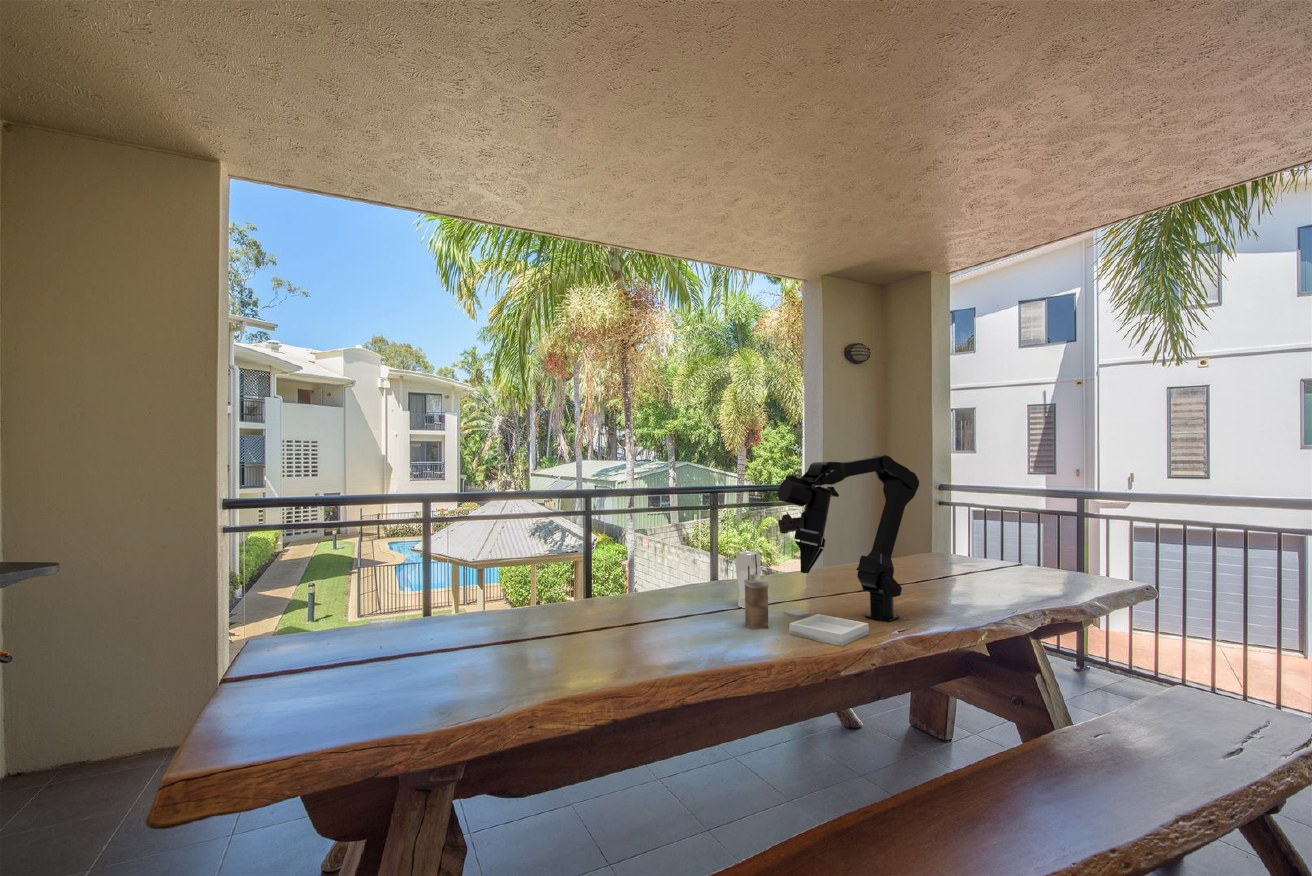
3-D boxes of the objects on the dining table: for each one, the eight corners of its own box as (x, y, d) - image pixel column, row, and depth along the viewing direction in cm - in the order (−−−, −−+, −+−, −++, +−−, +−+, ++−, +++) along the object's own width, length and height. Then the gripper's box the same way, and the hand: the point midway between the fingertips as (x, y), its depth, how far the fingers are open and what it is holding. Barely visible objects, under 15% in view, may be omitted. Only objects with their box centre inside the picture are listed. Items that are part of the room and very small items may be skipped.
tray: (817, 624, 142) (817, 613, 142) (868, 634, 133) (868, 623, 133) (789, 634, 133) (789, 623, 133) (841, 646, 124) (841, 634, 124)
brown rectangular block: (761, 623, 142) (760, 579, 143) (768, 628, 138) (768, 582, 139) (744, 624, 141) (744, 579, 142) (752, 629, 137) (751, 583, 138)
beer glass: (760, 604, 164) (759, 551, 165) (762, 609, 157) (761, 554, 158) (735, 603, 165) (735, 551, 166) (736, 609, 158) (736, 554, 159)
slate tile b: (796, 612, 155) (796, 609, 155) (810, 615, 150) (810, 612, 150) (783, 615, 152) (783, 611, 152) (797, 618, 148) (797, 615, 148)
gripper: (788, 508, 155) (776, 565, 152) (779, 500, 137) (766, 564, 135) (830, 516, 151) (819, 576, 148) (827, 509, 133) (814, 576, 131)
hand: (804, 573), depth 141 cm, fingers open, 9 cm apart
